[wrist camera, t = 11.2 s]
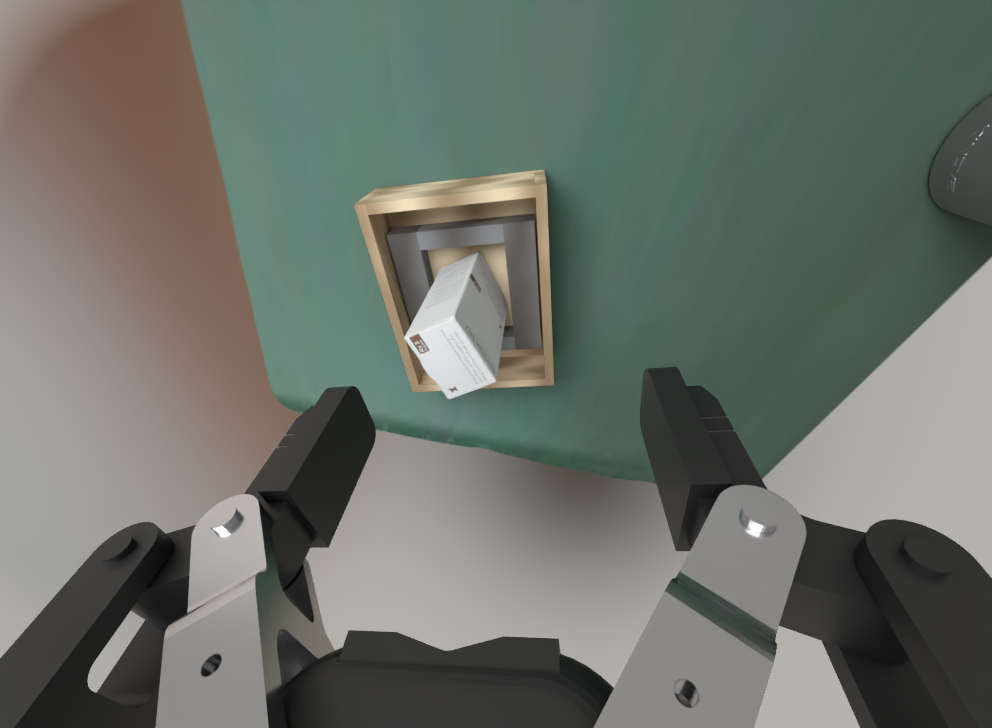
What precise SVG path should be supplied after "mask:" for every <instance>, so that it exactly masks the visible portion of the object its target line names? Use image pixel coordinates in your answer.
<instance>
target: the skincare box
mask: <svg viewBox="0 0 992 728" xmlns="http://www.w3.org/2000/svg"><path fill="white" fill-rule="evenodd" d="M507 306H508V304H507V301H506V299H505V296H504V294H503V292H502V290H501V288H500V286H499V284H498V282H497V280H496V278H495V276H494V274H493V272H492V270H491V269H490V267H489V265H488V263H487V261H486V260H485V258H484V256H483V255H482V253H481V252H480V251H478V252H476V253H473V254H471V255H469V256H467V257H465V258H463V259H460V260H458V261H456V262H454V263H452V264H450V265H448V266H445V267H443V268H441V269H440V271H439V273H438V275H437V277H436V279H435V281H434V283H433V285H432V286H431V288H430V290H429V292H428V294H427V296H426V298H425V300H424V302H423V303H422V305H421V307H420V309H419V311H418V313H417V315H416V317H415V318H414V320H413V322H412V324H411V326H410V328H409V330H408V331H407V333H406V335H405V337H404V339H405V341H406V342H407V343H408V345H409V346H410V347H411V349H412V350H413V351H414V353H415V354H416V356H417V357H418V358H419V360H420V362H421V364H422V366H423V368H424V370H425V371H426V372H427V374H428V375H429V376H430V377H431V378H432V379H433V380H434V381H435V382H436V383H437V384H438V386H439V387H440V389H441V390H442V391H443V393H444V394H445V395H446V397H447V398H448V399H452V398H455V397H457V396H460V395H463V394H466V393H468V392H471V391H474V390H477V389H479V388H482V387H485V386H487V385H490V384H492V383H494V382H496V381H497V374H498V366H499V360H500V354H501V347H502V340H503V333H504V326H505V320H506V313H507Z"/></svg>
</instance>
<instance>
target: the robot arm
mask: <svg viewBox="0 0 992 728" xmlns="http://www.w3.org/2000/svg"><path fill="white" fill-rule="evenodd" d="M929 188H930V194H931V196H932V198H933V200H934V202H935V203H936V204H937V205H938V206H939V207H940V208H942V209H944V210H946V211H949V212H951V213H954V214H957V215H960V216H963V217H966V218H969V219H972V220H975V221H978V222H981V223H984V224H987V225H990V226H992V95H991V96H989V97H988V98H987V99H985V100H984V101H983V102H982V103H980V104H979V105H978V106H977V107H975V108H974V109H973V110H972V111H971V112H970V113H969V114H968V115H967V116H966V117H965V118H964V119H963V120H962V121H961V122H960V123H959V124H958V125H957V126H956V127H955V129H954V130H953V131H952V132H951V134H950V135H949V136H948V138H947V139H946V140H945V142H944V143H943V145H942V147H941V148H940V150H939V152H938V154H937V155H936V158H935V160H934V163H933V165H932V168H931V172H930V178H929ZM640 423H641V431H642V435H643V439H644V442H645V446H646V449H647V453H648V456H649V460H650V463H651V466H652V470H653V473H654V477H655V480H656V484H657V487H658V490H659V494H660V497H661V501H662V504H663V508H664V511H665V515H666V518H667V522H668V525H669V529H670V532H671V535H672V539H673V542H674V546H675V549H676V551H690V552H689V554H688V556H687V558H686V560H685V562H684V564H683V566H682V568H681V570H680V572H679V574H678V575H677V577H676V578H675V579H674V578H673V579H672V580H671V582H670V583H669V585H668V586H667V588H666V590H665V591H664V593H663V595H662V597H661V599H660V601H659V603H658V605H657V607H656V609H655V610H654V612H653V614H652V616H651V618H650V620H649V622H648V624H647V626H646V628H645V630H644V632H643V633H642V635H641V637H640V639H639V641H638V643H637V645H636V647H635V649H634V651H633V653H632V655H631V657H630V658H629V660H628V662H627V664H626V666H625V668H624V670H623V672H622V674H621V676H620V678H619V680H618V682H617V684H616V685H615V687H614V688H613V687H612V686H611V685H610V684H609V683H608V682H607V681H606V680H604V679H603V678H602V677H601V676H600V675H598V674H597V673H596V672H594V671H593V670H592V669H590V668H589V667H587V666H586V665H584V664H582V663H580V662H578V661H576V660H575V659H572V658H570V657H567V656H564V655H562V654H561V653H560V647H559V639H550V638H524V637H501V638H497V639H493V640H489V641H485V642H482V643H478V644H474V645H471V646H467V647H463V648H459V649H455V650H452V651H443V650H440V649H438V648H435V647H433V646H430V645H427V644H425V643H423V642H420V641H417V640H415V639H412V638H410V637H407V636H405V635H402V634H400V633H397V632H375V631H351V630H350V631H348V634H347V637H346V640H345V643H344V646H343V648H340V649H338V650H334V648H333V646H332V644H331V642H330V640H329V639H328V637H327V635H326V633H325V630H324V627H323V623H322V619H321V614H320V610H319V605H318V601H317V596H316V593H315V587H314V583H313V579H312V574H311V570H310V566H309V562H308V561H307V559H306V558H305V557H306V555H307V553H308V551H309V549H310V547H329V545H330V543H331V540H332V538H333V536H334V534H335V531H336V529H337V526H338V524H339V522H340V520H341V518H342V515H343V513H344V511H345V509H346V506H347V504H348V502H349V500H350V497H351V495H352V493H353V491H354V488H355V486H356V484H357V481H358V479H359V477H360V475H361V472H362V470H363V468H364V466H365V463H366V461H367V459H368V457H369V454H370V452H371V450H372V448H373V445H374V442H375V436H376V432H375V425H374V422H373V420H372V418H371V416H370V414H369V411H368V409H367V407H366V405H365V403H364V400H363V398H362V396H361V394H360V392H359V390H358V389H357V388H356V387H354V386H350V387H334V388H328V389H326V390H325V391H324V393H323V394H322V396H321V397H320V399H319V400H318V402H317V403H316V404H315V406H311V407H310V408H309V409H308V410H307V411H305V412H304V413H303V414H302V415H301V416H299V417H298V418H297V419H296V420H295V422H294V423H293V425H292V426H291V428H290V429H289V430H288V432H287V436H284V438H283V439H282V440H281V442H280V443H279V445H278V448H276V449H275V450H274V452H273V454H272V455H271V456H270V458H269V459H268V461H267V462H266V463H265V465H264V466H263V468H262V469H261V471H260V472H259V473H258V475H257V476H256V478H255V479H254V480H253V482H252V483H251V485H250V486H249V488H248V489H247V490H246V492H245V493H244V494H240V495H235V496H233V497H230V498H228V499H225V500H223V501H221V502H220V503H218V504H217V505H215V506H214V507H213V508H211V509H210V510H209V511H208V512H207V513H206V514H205V515H204V516H203V517H202V518H201V519H200V520H199V522H198V523H197V524H196V525H194V526H191V527H188V528H184V529H181V530H177V531H174V532H171V533H167V534H165V533H164V532H163V531H162V530H161V529H160V528H158V527H157V526H156V525H155V524H154V523H151V522H142V523H138V524H134V525H131V526H129V527H127V528H125V529H123V530H121V531H119V532H117V533H116V534H114V535H113V536H111V537H110V538H109V539H108V540H106V541H105V542H104V543H102V545H100V546H99V547H98V548H97V549H96V550H95V551H94V552H93V553H92V555H91V556H90V557H89V558H88V559H87V560H86V561H85V563H84V564H83V565H82V566H81V567H80V568H79V569H78V570H77V572H76V573H75V574H74V575H73V576H72V577H71V578H70V580H69V581H68V582H67V583H66V584H65V585H64V586H63V588H62V589H61V590H60V591H59V592H58V593H57V595H56V596H55V597H54V598H53V599H52V600H51V601H50V602H49V604H48V605H47V606H46V607H45V608H44V609H43V610H42V612H41V613H40V614H39V615H38V616H37V617H36V619H35V620H34V621H33V622H32V623H31V624H30V625H29V627H28V628H27V629H26V630H25V631H24V632H23V633H22V634H21V636H20V637H19V638H18V639H17V640H16V641H15V643H14V644H13V645H12V646H11V647H10V648H9V649H8V650H7V652H6V653H5V654H4V655H3V656H2V658H0V728H155V727H156V728H754V726H755V722H756V719H757V716H758V712H759V709H760V706H761V703H762V699H763V696H764V693H765V689H766V686H767V682H768V679H769V676H770V673H771V669H772V666H773V662H774V658H775V654H776V649H777V644H776V642H775V637H776V633H777V630H778V626H782V627H785V628H787V629H791V630H793V631H797V632H799V633H802V634H805V635H808V636H811V637H814V638H816V639H819V640H822V642H823V645H824V647H825V649H826V651H827V654H828V656H829V658H830V660H831V663H832V665H833V667H834V670H835V672H836V674H837V676H838V679H839V681H840V683H841V685H842V688H843V690H844V692H845V694H846V697H847V699H848V701H849V703H850V706H851V708H852V710H853V712H854V715H855V717H856V719H857V721H858V724H859V726H860V728H992V578H991V577H990V576H989V575H988V573H987V572H986V571H985V570H984V569H983V568H982V566H981V565H980V564H979V563H978V562H977V561H976V560H975V558H974V557H973V556H972V555H971V554H970V553H968V552H967V551H966V550H965V549H964V548H963V547H961V546H960V545H959V544H957V543H956V542H955V541H953V540H951V539H950V538H948V537H946V536H945V535H943V534H941V533H939V532H937V531H935V530H933V529H931V528H928V527H926V526H923V525H920V524H917V523H914V522H909V521H904V520H896V519H893V520H883V521H879V522H877V523H875V524H873V525H872V526H871V527H870V528H869V529H868V531H867V532H866V533H864V532H860V531H856V530H852V529H848V528H844V527H840V526H835V525H832V524H828V523H823V522H820V521H816V520H813V519H810V518H807V517H805V516H803V515H800V514H799V513H798V511H797V510H796V509H795V508H794V507H793V506H792V505H791V504H790V503H789V502H788V501H786V500H785V499H784V498H782V497H781V496H779V495H778V494H776V493H773V492H771V491H769V490H768V489H767V488H766V486H765V485H764V483H763V481H762V479H761V478H760V476H759V474H758V472H757V470H756V468H755V467H754V465H753V463H752V461H751V459H750V458H749V456H748V454H747V452H746V450H745V449H744V447H743V445H742V443H741V441H740V439H739V438H738V436H737V434H736V432H734V431H733V427H732V425H731V423H730V421H729V420H728V418H726V414H725V412H724V410H723V409H722V407H721V405H720V403H719V401H718V400H717V398H715V397H714V396H713V395H712V394H710V393H709V392H708V391H707V390H705V389H704V388H703V387H702V386H686V384H685V382H684V380H683V378H682V376H681V374H680V372H679V370H678V368H677V367H666V368H650V369H645V371H644V375H643V386H642V397H641V408H640ZM130 610H131V611H132V612H134V613H136V614H137V615H139V616H140V617H142V618H143V619H145V621H144V623H143V624H142V626H141V627H140V629H139V630H138V632H137V633H136V635H135V637H134V638H133V640H132V641H131V642H130V644H129V646H128V647H127V648H126V650H125V651H124V653H123V654H122V656H121V657H120V659H119V661H118V662H117V663H116V665H115V666H114V668H113V669H112V671H111V672H110V674H109V675H108V677H107V678H106V680H105V681H104V683H103V684H102V686H101V687H100V689H99V690H98V692H97V693H95V692H93V691H91V690H90V689H89V687H88V683H87V678H88V674H89V671H90V668H91V666H92V664H93V663H94V661H95V660H96V658H97V657H98V656H99V654H100V653H101V651H102V650H103V648H104V647H105V646H106V644H107V643H108V641H109V640H110V639H111V637H112V636H113V634H114V633H115V631H116V630H117V629H118V627H119V626H120V625H121V623H122V622H123V620H124V619H125V618H126V616H127V614H128V613H129V612H130Z"/></svg>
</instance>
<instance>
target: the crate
mask: <svg viewBox="0 0 992 728" xmlns="http://www.w3.org/2000/svg"><path fill="white" fill-rule="evenodd" d="M354 206H355V209H356V212H357V216H358V219H359V222H360V225H361V228H362V232H363V235H364V238H365V241H366V244H367V247H368V251H369V254H370V257H371V260H372V263H373V267H374V270H375V273H376V276H377V279H378V282H379V286H380V289H381V292H382V295H383V298H384V302H385V305H386V308H387V311H388V314H389V317H390V321H391V324H392V327H393V330H394V333H395V337H396V340H397V343H398V346H399V349H400V353H401V356H402V359H403V362H404V365H405V368H406V372H407V375H408V378H409V381H410V384H411V388H412V391H413V392H422V391H442V390H441V389H440V387H439V386H438V384H437V383H436V382H435V381H434V380H433V379H432V378H431V377H430V376H429V375H428V374H427V372H426V371H425V370H424V368H423V366H422V364H421V362H420V360H419V358H418V357H417V356H416V354H415V353H414V351H413V350H412V349H411V347H410V346H409V345H408V343H407V342H406V341H405V339H404V337H405V335H406V333H407V331H408V330H409V328H410V326H411V324H412V322H413V320H414V318H415V317H416V315H417V313H418V311H419V309H420V307H421V305H422V303H423V302H424V300H425V298H426V296H427V294H428V292H429V290H430V288H431V286H432V285H433V283H434V281H435V279H436V277H437V275H438V273H439V271H440V269H441V268H443V267H445V266H448V265H450V264H452V263H454V262H456V261H458V260H460V259H463V258H465V257H467V256H469V255H471V254H473V253H476V252H478V251H480V252H481V253H482V255H483V256H484V258H485V260H486V261H487V263H488V265H489V267H490V269H491V270H492V272H493V274H494V276H495V278H496V280H497V282H498V284H499V286H500V288H501V290H502V292H503V294H504V296H505V299H506V301H507V304H508V306H507V313H506V320H505V326H504V333H503V340H502V347H501V354H500V360H499V366H498V374H497V381H496V382H494V383H492V384H490V385H487V386H485V387H482V388H479V389H485V388H505V387H526V386H547V385H554V368H553V341H552V314H551V287H550V260H549V233H548V206H547V183H546V177H545V171H544V170H536V171H527V172H518V173H509V174H501V175H492V176H483V177H474V178H465V179H457V180H448V181H439V182H430V183H421V184H412V185H404V186H395V187H386V188H377V189H374V190H373V191H372V192H370V193H369V194H368V195H366V196H365V197H364V198H362V199H361V200H360V201H359V202H357V203H356V204H355V205H354Z"/></svg>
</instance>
